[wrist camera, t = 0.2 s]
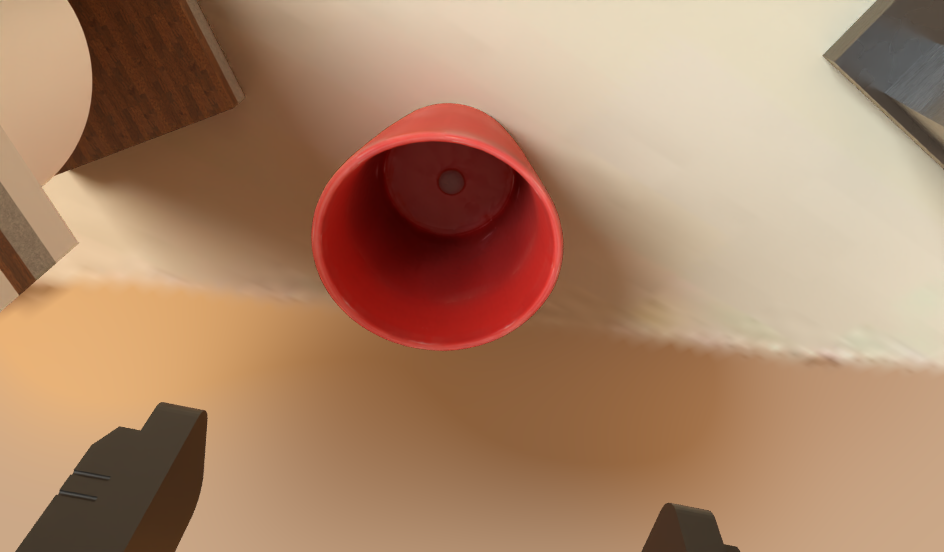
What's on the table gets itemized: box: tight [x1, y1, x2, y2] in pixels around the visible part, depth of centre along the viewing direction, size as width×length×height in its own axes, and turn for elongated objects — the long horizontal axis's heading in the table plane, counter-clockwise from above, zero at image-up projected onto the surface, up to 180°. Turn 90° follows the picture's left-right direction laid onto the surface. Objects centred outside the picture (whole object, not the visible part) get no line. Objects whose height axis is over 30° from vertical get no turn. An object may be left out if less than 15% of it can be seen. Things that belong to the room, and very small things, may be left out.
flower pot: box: [311, 103, 563, 351], centre depth 37 cm, size 11×11×10 cm
